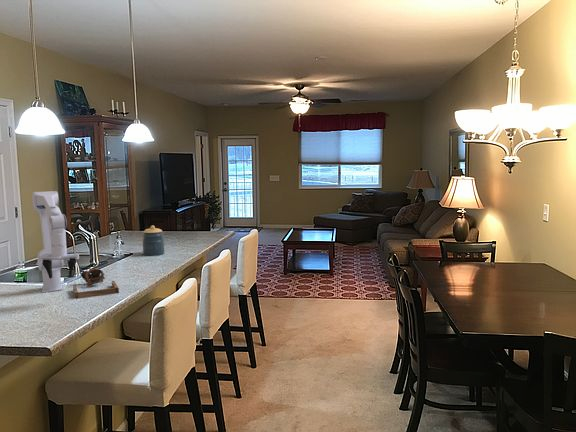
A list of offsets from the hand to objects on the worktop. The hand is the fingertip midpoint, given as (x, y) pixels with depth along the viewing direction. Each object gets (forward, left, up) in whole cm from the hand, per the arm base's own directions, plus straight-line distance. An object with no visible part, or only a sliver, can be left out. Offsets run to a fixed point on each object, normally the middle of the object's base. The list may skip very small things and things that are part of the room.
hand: (60, 277), depth 199 cm
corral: (-9, +14, -10) cm, 19 cm away
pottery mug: (-23, +14, -10) cm, 29 cm away
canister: (-82, +54, -10) cm, 99 cm away
